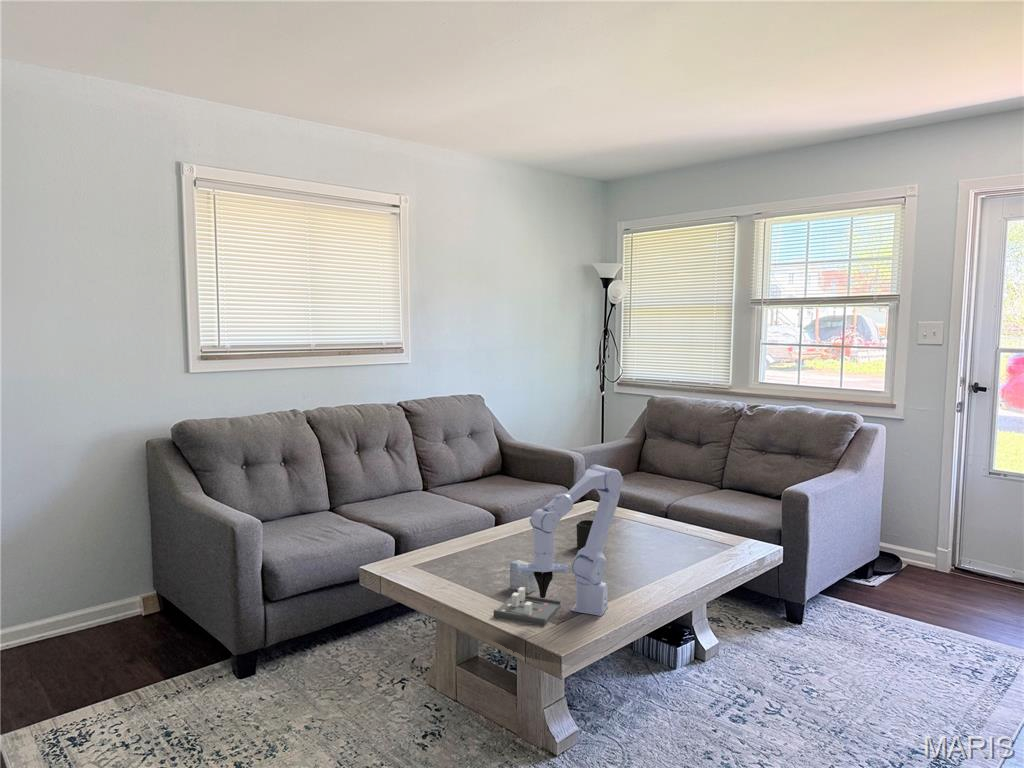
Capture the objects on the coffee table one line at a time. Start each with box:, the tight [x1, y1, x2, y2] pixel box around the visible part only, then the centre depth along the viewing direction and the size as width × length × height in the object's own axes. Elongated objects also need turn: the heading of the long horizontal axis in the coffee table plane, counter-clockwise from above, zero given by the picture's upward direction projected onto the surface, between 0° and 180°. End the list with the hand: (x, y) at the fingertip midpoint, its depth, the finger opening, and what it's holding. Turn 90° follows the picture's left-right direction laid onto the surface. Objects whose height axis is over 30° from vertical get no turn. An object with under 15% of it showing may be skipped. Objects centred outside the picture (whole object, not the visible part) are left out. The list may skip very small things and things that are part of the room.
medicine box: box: [509, 559, 537, 595], centre depth 227 cm, size 8×4×9 cm, turn 48°
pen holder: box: [576, 519, 594, 550], centre depth 270 cm, size 9×9×10 cm
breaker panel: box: [493, 592, 562, 627], centre depth 209 cm, size 16×15×2 cm
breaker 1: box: [511, 592, 520, 608], centre depth 210 cm, size 2×2×4 cm
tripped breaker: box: [524, 601, 532, 616], centre depth 203 cm, size 2×2×4 cm
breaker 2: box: [517, 587, 526, 602], centre depth 215 cm, size 2×2×4 cm
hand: (542, 596), depth 201 cm, fingers closed
